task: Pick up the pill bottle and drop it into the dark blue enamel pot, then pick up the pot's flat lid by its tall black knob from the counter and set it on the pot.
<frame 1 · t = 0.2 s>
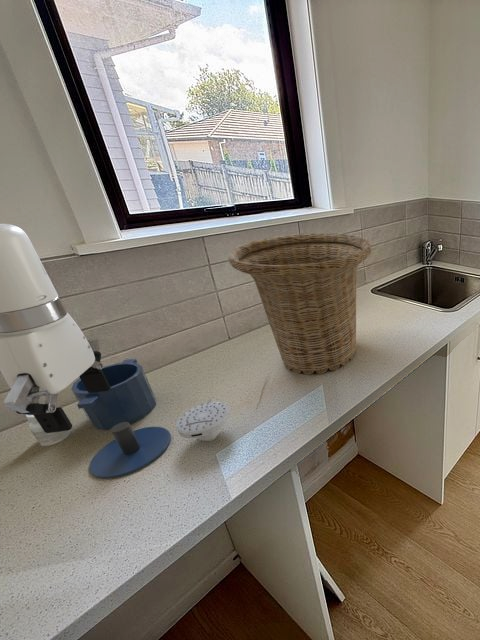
hand: (81, 409, 55), 17 cm above the countertop, tool pointing down, fingers open, 9 cm apart
lid: (133, 451, 67), point 1 cm above the countertop
pill bottle: (56, 440, 71), on the countertop
wicker basket: (320, 355, 102), on the countertop
showerhead: (212, 438, 72), on the countertop
pot: (126, 413, 78), on the countertop
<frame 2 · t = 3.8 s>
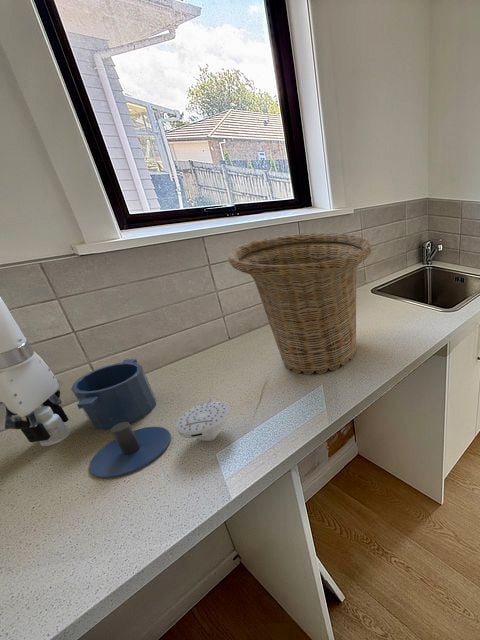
hand: (49, 430, 70), 3 cm above the countertop, tool pointing down, fingers closed on pill bottle, 4 cm apart
pill bottle: (56, 440, 71), on the countertop, touching gripper
everything else where it was.
when the fingers open (11 cm above the countertop, at t = 8.4 s): pill bottle drops 7 cm, resting on pot.
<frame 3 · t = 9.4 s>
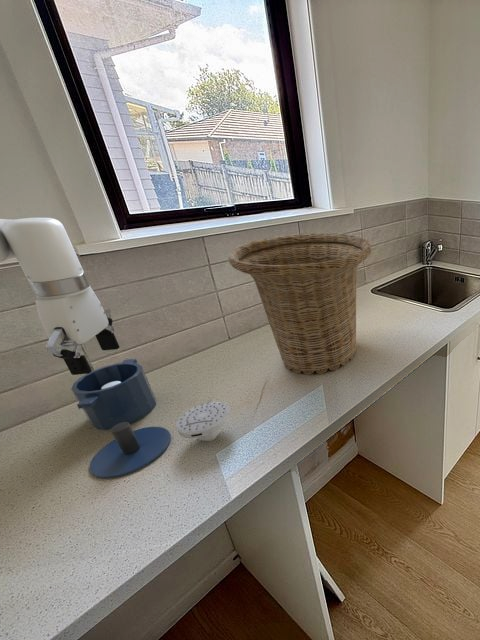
hand: (97, 360, 72), 15 cm above the countertop, tool pointing down, fingers open, 9 cm apart
pill bottle: (124, 413, 78), resting on pot
everything else where it was.
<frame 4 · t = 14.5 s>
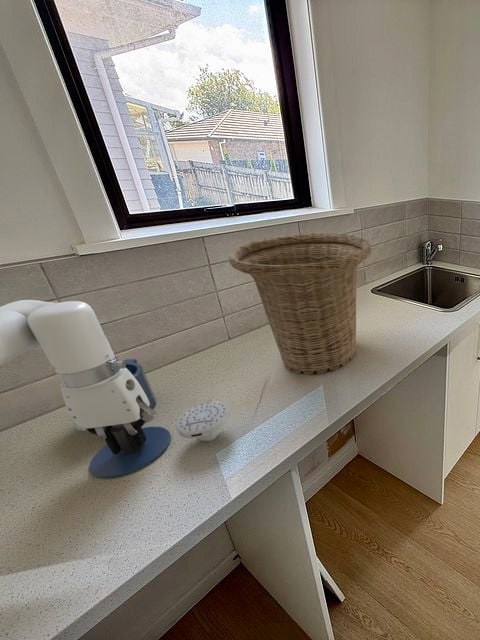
hand: (130, 446, 67), 2 cm above the countertop, tool pointing down, fingers closed on lid, 2 cm apart
lid: (133, 451, 67), point 1 cm above the countertop, touching gripper
everything else where it was.
when the fingers open (12 cm above the countertop, at t = 21.2 s): lid stays where it is, resting on pot.
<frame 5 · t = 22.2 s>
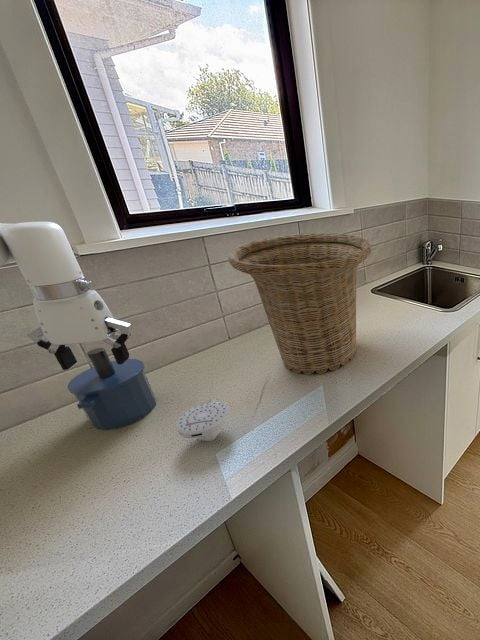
hand: (97, 363, 72), 14 cm above the countertop, tool pointing down, fingers open, 9 cm apart
lid: (108, 376, 74), point 10 cm above the countertop, touching pot
everything else where it was.
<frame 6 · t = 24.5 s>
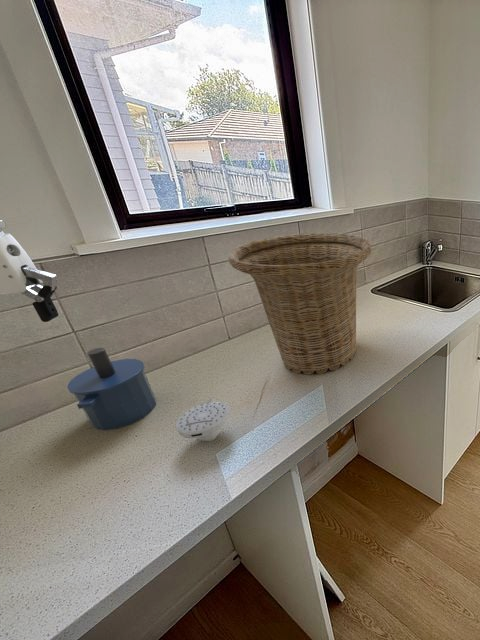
hand: (19, 321, 63), 26 cm above the countertop, tool pointing down, fingers open, 9 cm apart
nothing on the countertop moved.
at the end: pill bottle inside the target area in the pot (0.3 cm from its centre), point 0.3 cm above the pot's base; lid 0.1 cm off-centre on the pot, point 10.5 cm above the pot's base; lid tilted 0° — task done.
